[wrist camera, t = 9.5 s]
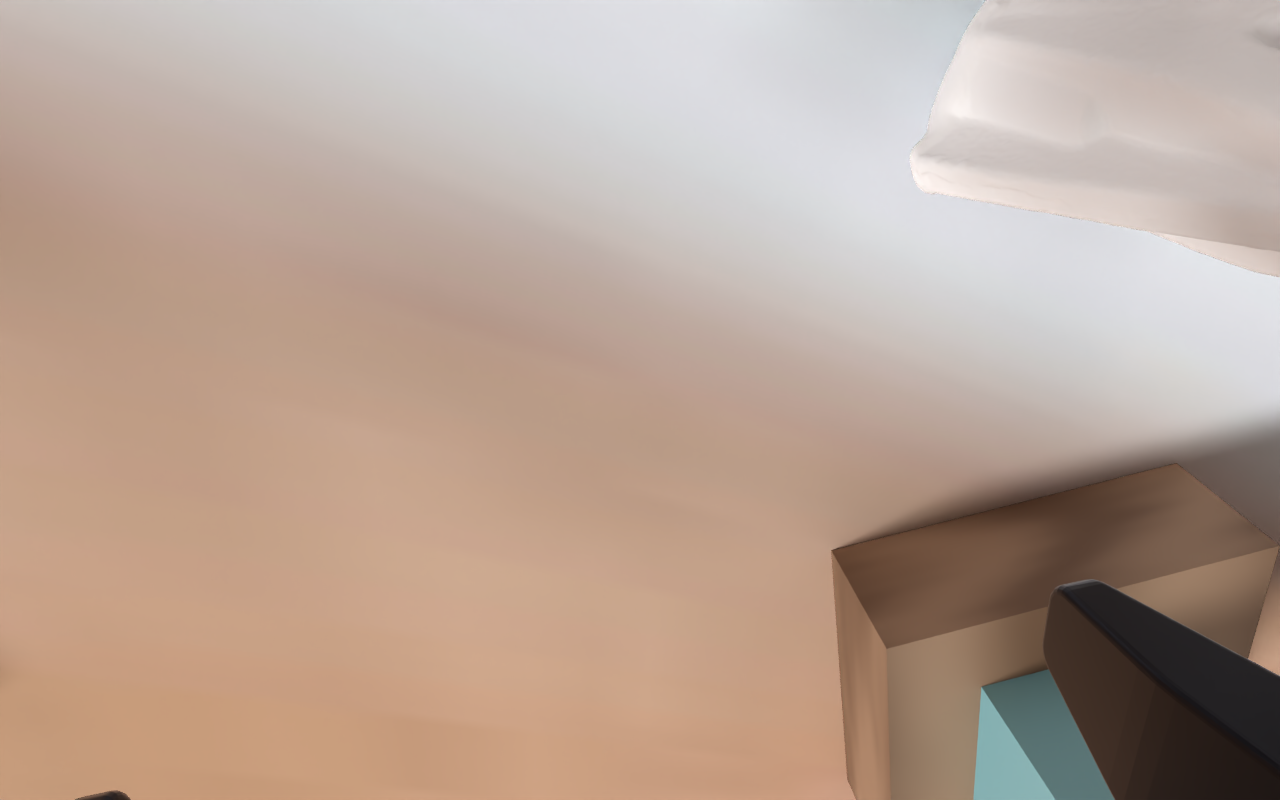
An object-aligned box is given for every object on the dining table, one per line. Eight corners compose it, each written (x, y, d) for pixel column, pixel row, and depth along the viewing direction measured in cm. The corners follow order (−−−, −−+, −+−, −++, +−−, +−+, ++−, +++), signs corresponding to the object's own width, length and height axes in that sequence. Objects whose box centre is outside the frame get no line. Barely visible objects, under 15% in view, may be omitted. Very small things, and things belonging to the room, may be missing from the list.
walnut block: (1166, 455, 25) (1279, 545, 21) (1123, 691, 30) (1209, 795, 26) (826, 541, 24) (886, 648, 21) (842, 768, 29) (893, 884, 26)
